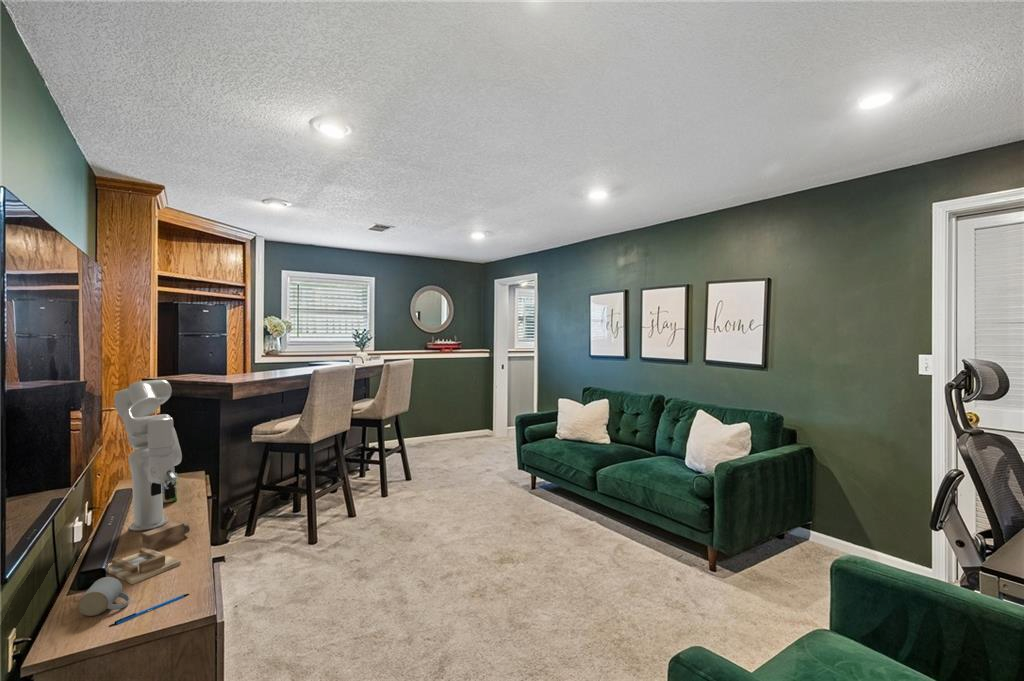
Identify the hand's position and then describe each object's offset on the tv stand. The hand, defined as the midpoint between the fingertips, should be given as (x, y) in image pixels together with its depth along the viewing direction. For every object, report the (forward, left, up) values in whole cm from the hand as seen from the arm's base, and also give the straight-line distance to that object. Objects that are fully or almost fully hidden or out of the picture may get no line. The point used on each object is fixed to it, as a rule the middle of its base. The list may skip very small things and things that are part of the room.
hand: (163, 496), depth 177 cm
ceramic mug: (+31, -30, -18) cm, 47 cm away
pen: (+44, -24, -18) cm, 53 cm away
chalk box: (-50, +24, -18) cm, 58 cm away
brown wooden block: (0, 0, -18) cm, 18 cm away
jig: (+13, -13, -18) cm, 25 cm away
